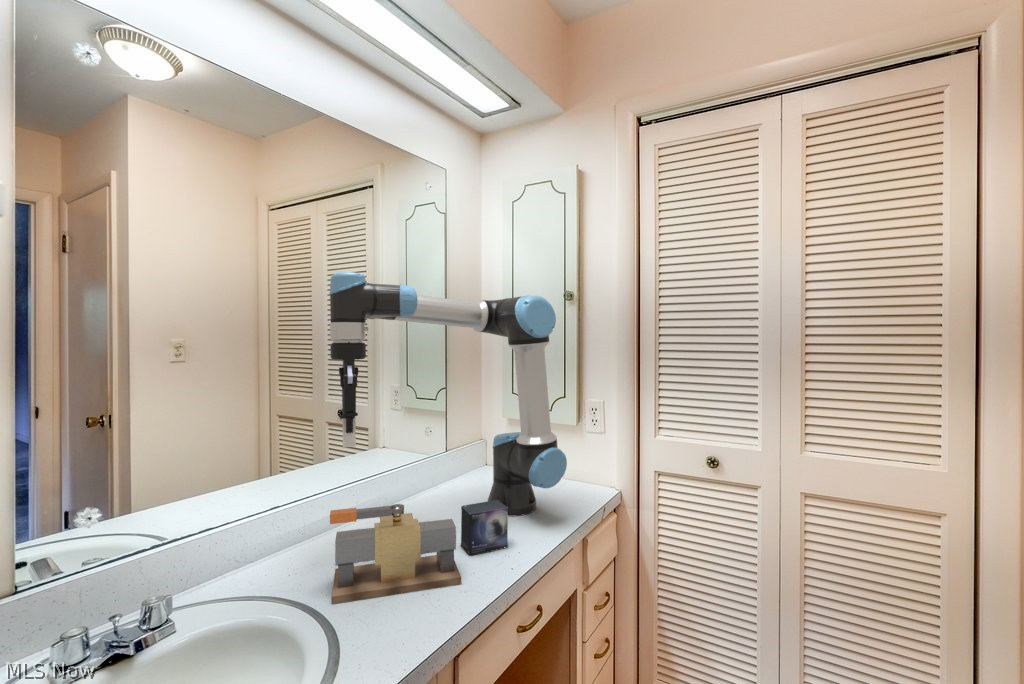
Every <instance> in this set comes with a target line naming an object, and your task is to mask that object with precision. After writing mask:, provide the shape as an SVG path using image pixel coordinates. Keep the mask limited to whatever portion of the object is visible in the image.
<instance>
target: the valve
mask: <svg viewBox="0 0 1024 684" xmlns="http://www.w3.org/2000/svg"><path fill="white" fill-rule="evenodd" d="M373 524H374V527H368V528H360V529H359V528H358V529H352V530H341V531H340V530H339V531H336V533H335V541H334V545H335V546H334V547H335V549H334V551H335V555H334V556H335V559H334V560H335V561H334V563H335V564H334V565H335V566H337V568H338V588H343V587H350V586H353V583H354V566H355V564H358V563H365V562H371V561H372V562H373V561H374V563H375V565H380V574H381V583H385V582H392V581H399V580H406V579H412V578H415V560H417V559H421V557H422V556H421V555H424V554H425V555H426V554H431V553H433V554H434V553H436V555H437V564H438V567H439V570H440V573H445V572H452V571H454V560H455V550H456V551H457V526H456V524H455V523H454V520H453V518H446V519H438V520H437V519H436V520H429V521H428V520H427V521H420V522H419V519H418V518H414V515H413V512H407V513H406V512H405V513H404V514H402V515H399V516H384V517H379V522H374V523H373Z"/></svg>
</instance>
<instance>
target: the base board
mask: <svg viewBox="0 0 1024 684" xmlns="http://www.w3.org/2000/svg"><path fill="white" fill-rule="evenodd" d="M334 569H335V570H334V576H333V584H332V592H331V605H334V604H335V605H336V604H342V603H348V602H354V601H360V600H361V601H363V600H369V599H374V598H380V597H387V596H394V595H400V594H406V593H414V592H419V591H425V590H432V589H439V588H446V587H451V586H458V585H462V575H461V573H460V571H459V568H458V565H457V563H456V561H455V559H454V571H452V572H445V573H440V570H439V567H438V564H437V554H435V555H425V556H421V559H417V560H415V578H412V579H406V580H399V581H392V582H385V583H381V574H380V565H375V562H374V563H373V562H372V563H367V564H359V565H354V583H353V586H350V587H343V588H338V567H337V568H334Z"/></svg>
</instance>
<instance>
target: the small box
mask: <svg viewBox="0 0 1024 684" xmlns="http://www.w3.org/2000/svg"><path fill="white" fill-rule="evenodd" d="M460 510H461V517H460V518H461V519H460V520H461V522H460V523H461V526H460V535H461V536H460V547H461V548H462V549H463V550H464V551H465V552H466V553H467V555H468V556H470V555H471V556H475V555H479V553H480V554H484V553H488V552H487V551H489V552H492V551H491V550H494V551H497V550H496V549H498V550H501V549H500V548H503V549H505V548H504V547H507V548H508V534H509V533H508V528H509V527H508V525H509V524H508V523H509V522H508V519H509V516H508V507H507V506H505V505H504V504H503V503H501V502H500V501H499V500H493V501H488V500H487V501H483V502H482V501H481V502H476V503H469V504H466V505H465V504H464V505H461V509H460ZM483 552H484V553H483Z"/></svg>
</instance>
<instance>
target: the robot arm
mask: <svg viewBox="0 0 1024 684" xmlns="http://www.w3.org/2000/svg"><path fill="white" fill-rule="evenodd" d="M329 302H330V303H329V308H330V322H329V329H330V330H329V339H330V340H331V341H332V343H331V344H330V358H331V360H336V361H337V360H338V361H340V360H341V361H342V367H338V375H339V377H340V379H339V381H340V382H339V383H340V384H339V385H340V386H341V387H340V388H341V403H342V404H341V405H342V408H341V412H342V414H341V415H339V420H342V448H353V447H356V445H357V442H356V441H357V439H356V438H357V436H356V432H357V431H356V417H357V416H358V412H357V404H356V403H357V387H358V375H359V367H358V366H356V364H355V360H364V359H366V358H367V346H366V345H367V344H365V342H364V341H365V340H366V332H368V331H369V328H368V327H367V326H366V322H367V321H366V319H368V320H377V319H378V320H388V321H399V322H407V323H408V322H410V323H418V324H419V323H420V324H429V325H430V324H431V325H439V326H450V327H461V328H470V329H471V328H472V329H473V330H474V331H475V332H477V333H486V334H489V335H495V336H500V337H505V338H507V343H508V347H509V348H511V349H512V350H513V352H514V363H515V374H516V388H517V400H518V411H519V424H520V431H519V432H517V431H516V432H507V433H506V432H505V433H499V434H496V435H495V436H494V437H493V443H492V455H493V456H492V457H493V461H492V463H493V464H492V466H493V467H492V471H493V472H492V475H493V477H492V478H493V479H492V480H493V481H492V486H491V488H490V490H489V491H490V492H489V496H488V498H487V501H493V500H499V501H500V502H501V503H503V504H504V505H505V506H507V507H508V515H516V516H523V515H522V514H524V515H527V514H526V513H528V514H530V513H529V512H531V513H533V512H534V511H535V510H536V509H537V498H536V495H535V493H534V492H535V491H534V489H533V487H536V488H541V489H551V488H552V487H555V486H556V485H557V484H558V483H560V482H561V480H562V478H563V477H564V475H565V473H566V470H567V465H568V461H567V457H566V454H565V453H564V452H563V450H562V449H560V448H558V438H557V437H558V436H557V435H556V434H555V433H554V432H552V427H551V416H550V414H551V413H550V401H549V391H548V377H547V366H546V365H547V364H546V363H547V362H546V347H547V346H548V345H549V344H550V335H551V334H552V333H553V331H554V330H553V329H554V328H555V327H556V322H557V317H556V312H555V310H554V308H553V305H552V304H551V303H550V302H549V301H548V300H547V298H545V297H543V296H540V295H530V294H527V295H523V296H516V297H509V298H508V297H507V298H502V299H494V300H493V299H491V300H490V299H489V300H486V299H478V300H477V301H476V302H475V301H466V300H460V299H452V298H451V299H450V298H444V297H436V296H428V295H422V294H421V295H420V294H417V291H416V288H414V287H413V286H410V285H404V284H403V285H402V284H388V283H387V284H385V283H384V284H381V283H370V282H367V280H366V275H365V274H363V273H361V272H352V271H351V272H350V271H349V272H348V271H341V272H340V271H338V272H335V273H333V274H332V275H331V277H330V288H329ZM358 417H359V416H358ZM532 511H533V512H532Z"/></svg>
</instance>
